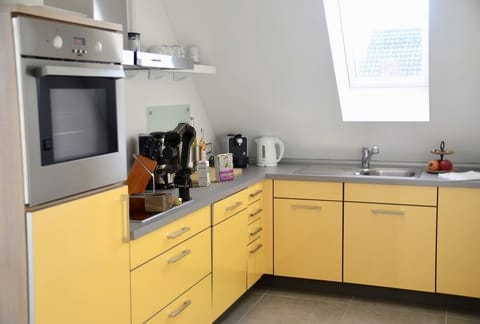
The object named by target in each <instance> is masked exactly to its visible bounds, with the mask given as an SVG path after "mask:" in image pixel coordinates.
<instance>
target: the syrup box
mask: <svg viewBox="0 0 480 324" xmlns="http://www.w3.org/2000/svg"><path fill="white" fill-rule="evenodd" d="M196 165H197V166H196V167H197V168H196V169H197V182H198V187H209V185H211V177H210V164H209V160H199V161H197V162H196Z"/></svg>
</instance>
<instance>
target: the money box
mask: <svg viewBox="0 0 480 324" xmlns="http://www.w3.org/2000/svg"><path fill="white" fill-rule="evenodd" d="M172 194H173V193H172V192H152V193H149V194H148V195H145V196H144V209H145V212H160V213H161V212H165V211H167V210H169V209H172V207H173V205H172V199H173V197H172Z"/></svg>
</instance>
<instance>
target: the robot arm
mask: <svg viewBox="0 0 480 324" xmlns="http://www.w3.org/2000/svg"><path fill="white" fill-rule="evenodd" d="M196 137H197V130H196V129H195V127H193V126H192V125H190V123H189V122H187V121H186V122H178V124H177V125H176V127H175V128H174V129H172V130H166V132H165V133H164V139H163V144H162V146H163V147H164V148H163V149H162V150H161V157H162V158H163V159H164V160H167V162H166V163H167V164H166V165H164V167H158V168H156V169H155V171H154V172H155V173H154V174H155V175H156V176H157V175H158V177H160V178H161V179H162V181H163V183H164V185H165V188H166V189H169V174H171V175H174V176H173V187H174V189H178V191H177V192H178V198H182V201H190V200H192V199H193V197H191V190H190V189H193V188H194V182H193V180H192V177H191V176H193V174H195V173H196V170H195V168H194V167H192V166H191V167H190V166H189V164H190V157H191V149H192V148H191V147H192V145H193V143H195V141H196ZM180 147H181V149H180ZM180 150H181V151H180Z"/></svg>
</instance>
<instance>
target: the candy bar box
mask: <svg viewBox="0 0 480 324" xmlns="http://www.w3.org/2000/svg"><path fill="white" fill-rule="evenodd" d="M233 155H234V154H233V153H229V152H228V153H221V154H214V155H213V158H214V161H213V162H214V174H215V175H214V176H215V182H216V183H217V182H218V183H223V182H229V181H234V180H235V175H234V174H235V173H234V157H233Z"/></svg>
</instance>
